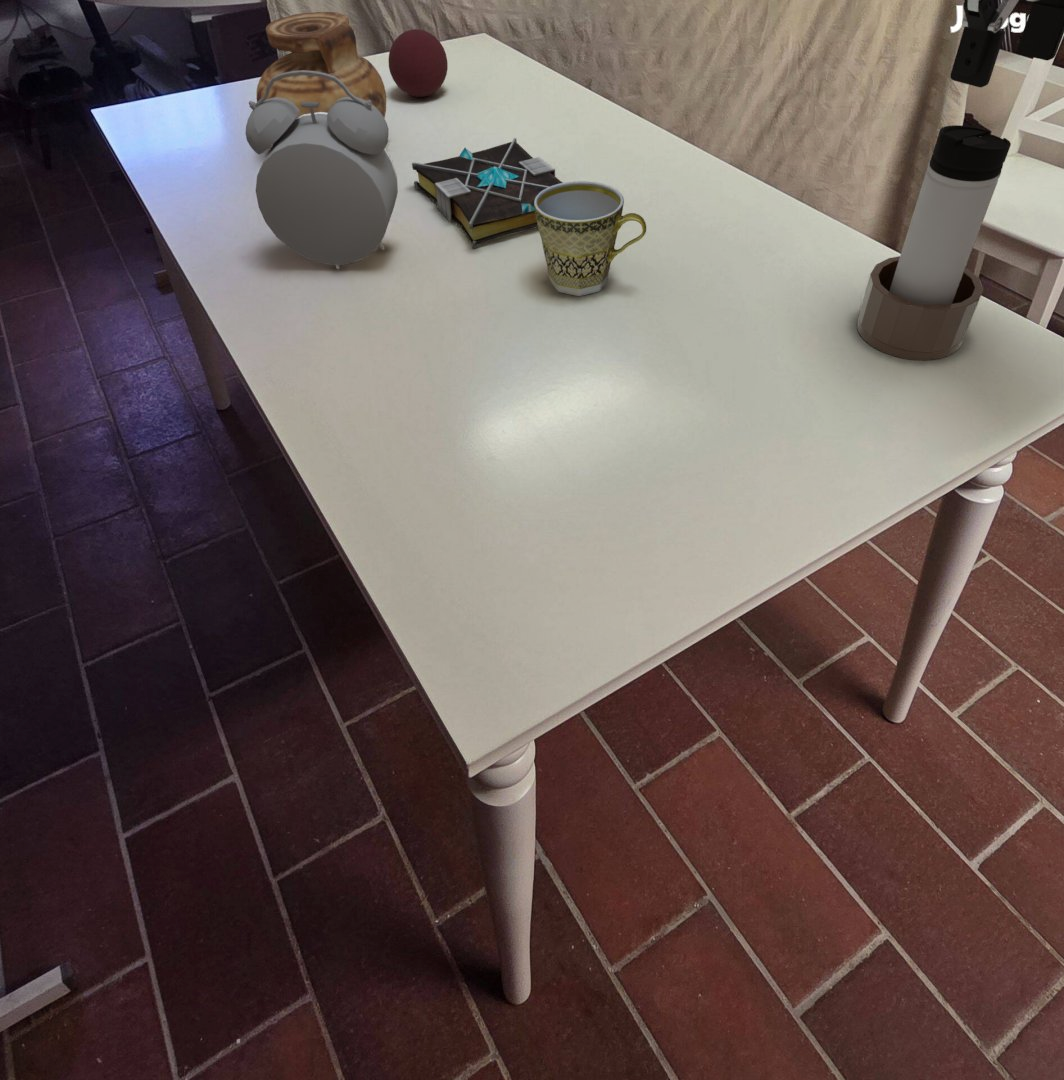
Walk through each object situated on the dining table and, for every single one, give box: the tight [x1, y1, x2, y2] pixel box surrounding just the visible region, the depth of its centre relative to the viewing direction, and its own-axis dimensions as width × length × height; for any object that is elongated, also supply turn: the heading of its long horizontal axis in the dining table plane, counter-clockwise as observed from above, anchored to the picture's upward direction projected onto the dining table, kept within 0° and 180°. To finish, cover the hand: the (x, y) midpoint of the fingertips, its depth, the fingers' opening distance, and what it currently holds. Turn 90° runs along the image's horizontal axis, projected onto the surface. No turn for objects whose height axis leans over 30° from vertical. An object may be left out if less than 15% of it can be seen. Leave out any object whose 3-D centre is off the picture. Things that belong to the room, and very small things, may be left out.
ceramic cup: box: [534, 180, 647, 297], centre depth 95 cm, size 13×10×10 cm
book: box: [411, 137, 564, 249], centre depth 112 cm, size 22×17×5 cm
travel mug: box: [889, 124, 1012, 305], centre depth 81 cm, size 6×7×20 cm
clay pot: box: [256, 11, 387, 120], centre depth 123 cm, size 19×19×20 cm
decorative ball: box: [388, 28, 449, 98], centre depth 140 cm, size 10×10×10 cm
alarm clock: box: [245, 70, 399, 270], centre depth 97 cm, size 16×9×22 cm, turn 85°
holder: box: [856, 255, 985, 361], centre depth 87 cm, size 11×11×6 cm
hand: (1002, 69), depth 70 cm, fingers open, 9 cm apart
